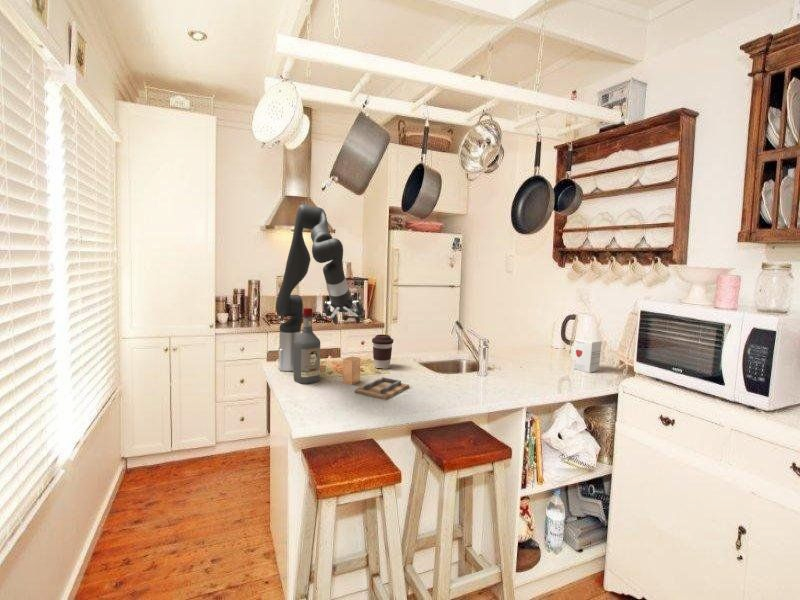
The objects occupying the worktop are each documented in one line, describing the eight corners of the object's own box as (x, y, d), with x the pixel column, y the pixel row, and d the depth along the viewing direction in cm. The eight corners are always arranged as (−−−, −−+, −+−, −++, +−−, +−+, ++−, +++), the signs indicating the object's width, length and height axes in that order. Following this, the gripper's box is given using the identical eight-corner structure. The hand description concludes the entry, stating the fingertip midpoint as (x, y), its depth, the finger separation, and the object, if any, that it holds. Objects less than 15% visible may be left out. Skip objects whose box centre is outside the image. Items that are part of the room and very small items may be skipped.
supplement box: (572, 368, 219) (574, 338, 217) (582, 366, 224) (584, 337, 222) (589, 373, 211) (592, 342, 210) (599, 370, 217) (602, 340, 215)
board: (385, 399, 164) (386, 392, 163) (354, 392, 170) (354, 385, 170) (409, 387, 179) (409, 381, 179) (379, 381, 186) (379, 374, 186)
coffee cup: (372, 363, 212) (373, 333, 211) (392, 365, 212) (394, 334, 210) (370, 369, 203) (371, 337, 201) (391, 370, 202) (392, 338, 200)
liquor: (291, 379, 183) (291, 307, 179) (309, 375, 189) (311, 306, 186) (303, 385, 177) (304, 310, 173) (322, 381, 183) (323, 309, 180)
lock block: (351, 385, 180) (352, 360, 178) (342, 382, 182) (343, 359, 180) (359, 381, 185) (360, 357, 184) (351, 379, 187) (351, 356, 186)
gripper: (359, 282, 163) (366, 315, 173) (321, 283, 165) (331, 316, 175) (355, 294, 157) (363, 328, 167) (316, 296, 160) (327, 329, 169)
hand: (347, 322), depth 171 cm, fingers open, 8 cm apart
